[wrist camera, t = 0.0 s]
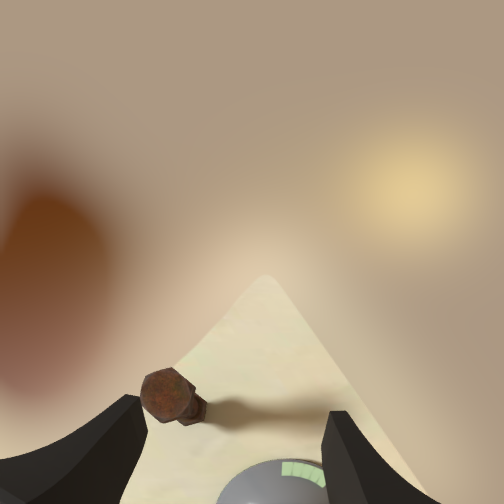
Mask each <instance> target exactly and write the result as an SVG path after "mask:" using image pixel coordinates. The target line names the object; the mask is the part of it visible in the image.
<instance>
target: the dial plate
mask: <svg viewBox="0 0 504 504" xmlns="http://www.w3.org/2000/svg"><path fill="white" fill-rule="evenodd" d="M216 504H329V499H328V494H327V489H326V483H325V478H324V473H323V467H321V466H319V465H316V464H314V463H310V462H307V461H303V460H297V459H277V460H270V461H266V462H262V463H259V464H256V465H254V466H252V467H250V468H248V469H246V470H244V471H242V472H241V473H239V474H238V475H237V476H236V477H234V478H233V479H232V480H231V481H230V482H229V483H228V484H227V485H226V487H225V488H224V490H223V491H222V492H221V494H220V496H219V498H218V500H217V503H216Z"/></svg>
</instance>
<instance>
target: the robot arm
mask: <svg viewBox="0 0 504 504" xmlns="http://www.w3.org/2000/svg"><path fill="white" fill-rule="evenodd" d="M147 434H148V429H147V425H146V421H145V417H144V413H143V409H142V405H141V400H140V397H138V396H133V395H128V394H125V395H124V396H123V397H121V398H120V399H119V400H117V401H116V402H115V403H113V404H112V405H111V406H109V408H107V409H106V410H104V411H103V412H102V413H100V414H99V415H98V416H96V417H95V418H93V419H92V420H91V421H89V422H88V423H87V424H85V425H84V426H82V427H80V428H79V429H77V430H76V431H74V432H73V433H71V434H69V435H68V436H66V437H64V438H62V439H60V440H58V441H56V442H54V443H52V444H50V445H48V446H45V447H43V448H40V449H37V450H35V451H32V452H29V453H26V454H23V455H19V456H15V457H11V458H6V459H0V504H119V503H120V500H121V497H122V494H123V492H124V490H125V488H126V485H127V483H128V481H129V479H130V477H131V475H132V473H133V471H134V468H135V466H136V464H137V462H138V460H139V458H140V455H141V453H142V450H143V447H144V444H145V441H146V437H147ZM321 451H322V467H323V473H324V478H325V483H326V489H327V494H328V499H329V504H441V503H439V502H436V501H435V500H433V499H432V498H430V497H428V496H427V495H425V494H424V493H422V492H421V491H419V490H418V489H416V488H415V487H414V486H412V485H411V484H410V483H408V482H407V481H406V480H405V479H404V478H402V477H401V476H400V475H399V474H398V473H397V472H396V471H395V470H394V469H393V468H392V467H391V466H390V465H389V464H388V463H387V462H386V461H385V460H384V459H383V458H382V457H381V456H380V455H379V454H378V453H377V451H376V450H375V449H374V448H373V446H372V445H371V444H370V443H369V442H368V440H367V439H366V438H365V436H364V435H363V434H362V432H361V431H360V430H359V428H358V427H357V426H356V424H355V423H354V421H353V420H352V418H351V417H350V415H349V414H348V412H347V411H330V413H329V417H328V421H327V425H326V429H325V433H324V437H323V441H322V444H321Z"/></svg>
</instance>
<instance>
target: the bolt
mask: <svg viewBox="0 0 504 504" xmlns="http://www.w3.org/2000/svg"><path fill="white" fill-rule="evenodd" d="M195 390H196V387H195V386H194V385H192V384H191V383H190V382H189V381H188V380H187V379H185V378H184V377H183V376H182V375H181V374H179V373H178V372H177V371H176V370H175V369H173V368H172V367H171V368H166V369H162V370H159V371H156V372H153V373H151V374H148V375H147V376H145V379H144V381H143V384H142V388H141V393H140V400H141V405H142V406H143V407H144V408H145V409H146V410H147V411H148V412H149V413H150V414H151V415H152V416H153V417H154V418H156V419H157V420H158V421H159V422H161V423H168V422H171V421H174V420H177V421H178V422H180V423H181V424H182V425H183V426H188V425H192V424H195V423H198V422H201V421H203V420H204V417H205V412H206V404H207V402H206V401H205V400H204V399H202V398H201V397H200V396H199V395H197V394H196V393H195Z"/></svg>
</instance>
